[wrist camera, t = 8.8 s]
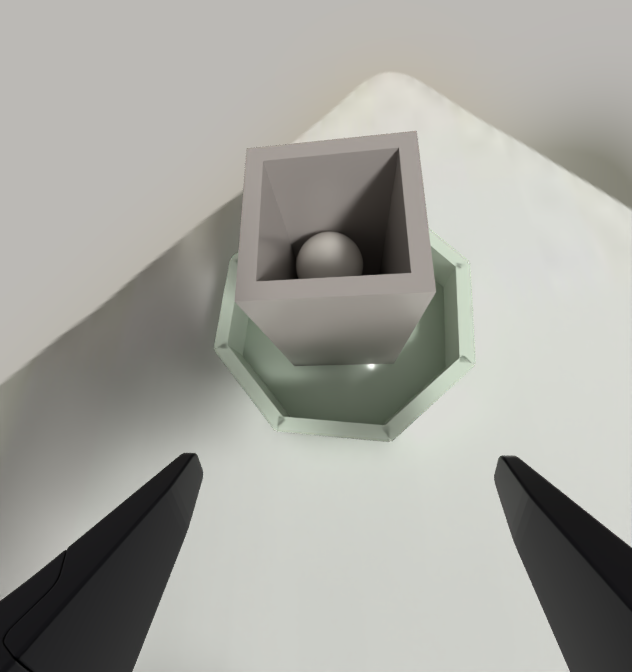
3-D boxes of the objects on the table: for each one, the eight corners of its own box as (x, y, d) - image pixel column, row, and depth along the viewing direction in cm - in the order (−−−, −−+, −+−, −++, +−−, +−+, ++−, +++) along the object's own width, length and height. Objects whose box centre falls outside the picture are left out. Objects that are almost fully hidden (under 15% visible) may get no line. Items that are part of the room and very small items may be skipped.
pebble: (340, 297, 12) (332, 217, 12) (286, 304, 14) (278, 236, 14) (378, 295, 14) (372, 228, 14) (327, 301, 16) (321, 243, 16)
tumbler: (393, 363, 17) (436, 291, 8) (294, 366, 18) (234, 301, 9) (387, 272, 19) (416, 130, 10) (296, 277, 20) (246, 148, 11)
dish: (331, 490, 17) (327, 502, 14) (200, 318, 20) (175, 299, 17) (505, 331, 18) (533, 313, 15) (351, 197, 22) (350, 162, 19)
